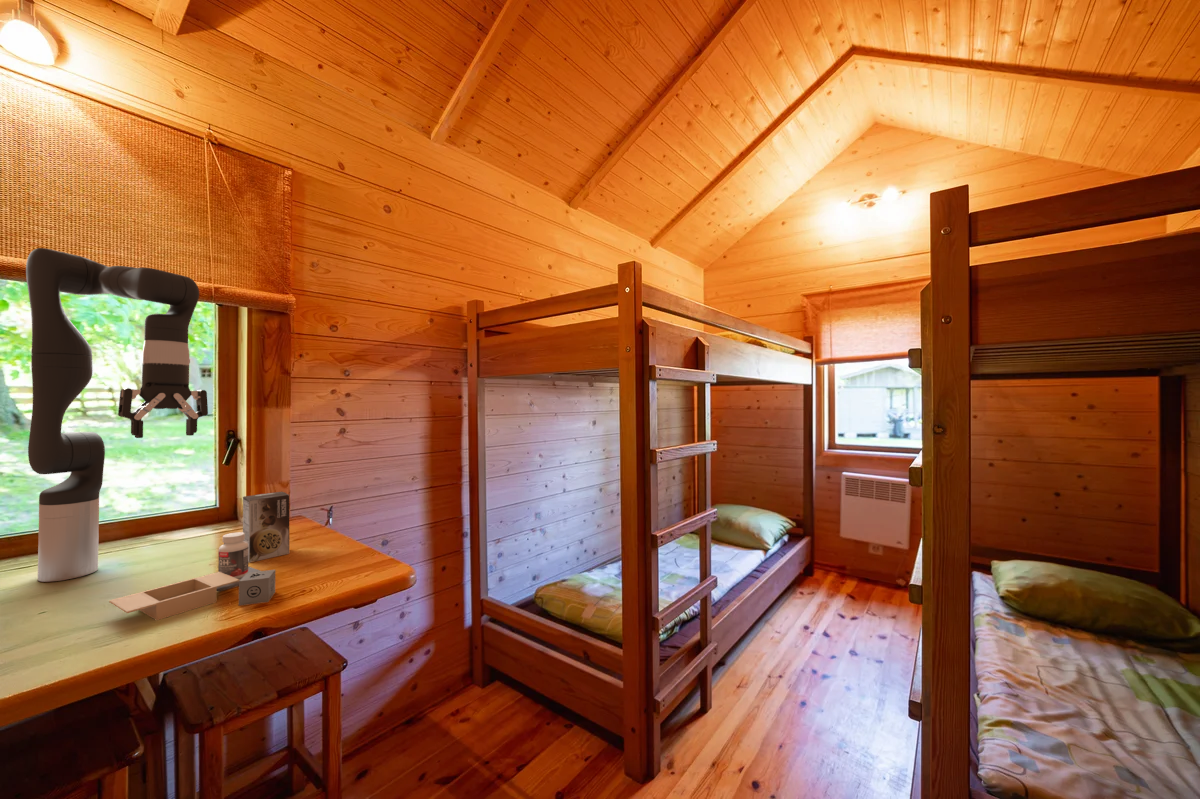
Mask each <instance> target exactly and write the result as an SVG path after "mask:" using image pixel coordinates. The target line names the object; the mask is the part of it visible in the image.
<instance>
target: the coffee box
mask: <svg viewBox="0 0 1200 799" xmlns="http://www.w3.org/2000/svg"><path fill="white" fill-rule="evenodd" d="M242 532H243V533H245V539H244V540H243V541H245V542H247V543H248V546H249V547H248V563H254V562H259V561H263V560H267V559H272V558H275V557H276V558H277V557H280V556H283V555H284V556H285V555H289V554H290V553H291V552H290V551H291V550H290V494H288V493H287V492H284V491H277V492H268V493H260V494H252V495H247V496H242Z"/></svg>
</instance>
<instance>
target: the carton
mask: <svg viewBox="0 0 1200 799" xmlns="http://www.w3.org/2000/svg"><path fill="white" fill-rule="evenodd" d="M238 581H240V580H239V579H237V578H234V577H232V576H229V575H227V574H224V573H222V572H218V571H217V572H213V573H208V574H205V575H202V576H197V577H193V578H190V579H185V580H182V581H178V582H174V583H171V584H166V585H162V586H159V587H155V588H151V589H148V590H144V591H140V592H136V593H132V594H128V595H124V596H120V597H116V598H113V599H109V600H108V602H109V603H110V604H111V605H113V606H115V607H116V608H118V609H119V610H120V611H123V612H124V613H126V614H130V613H133V612H137V611H141V612H142V613H144V614H145V615H146V616H148V617H150V618H152V619H153V620H155V621H159V620H162V619H166V618H168V617H172V616H175V615H179V614H181V613H185V612H189V611H192V610H195V609H197V608H202V607H204V606H208V605H211V604H214V603H217V593H218V592H217V587H221V586H224V585H228V584H231V583H235V582H238Z"/></svg>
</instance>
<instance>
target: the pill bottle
mask: <svg viewBox="0 0 1200 799" xmlns="http://www.w3.org/2000/svg"><path fill="white" fill-rule="evenodd" d="M244 539H245V533H243V531H238V532H230V533H226V534H224V535H222V543H223V544H221V545H219V547H218V566H217V568H218V571H217V572H222V573H224V574H227V575H229V576H232V577H234V578H237V579H239V578H242V577H244V575H245V574H246V573H248V566H249V562H248V547H249V546H248V543H247V542H245V541H243V540H244Z"/></svg>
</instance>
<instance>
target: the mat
mask: <svg viewBox="0 0 1200 799" xmlns="http://www.w3.org/2000/svg"><path fill="white" fill-rule="evenodd" d="M257 571H261V570H260V569H257V568H255V567H251V566H249V565H248V572H257ZM242 578H243V577H242ZM242 578H239V580H241V579H242ZM236 587H239V581H238V582H235V583H231V584H228V585H224V586H221V587H217V593H220V592H223V591H226V590H227V591H228V590H229V589H233V588H236Z"/></svg>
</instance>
